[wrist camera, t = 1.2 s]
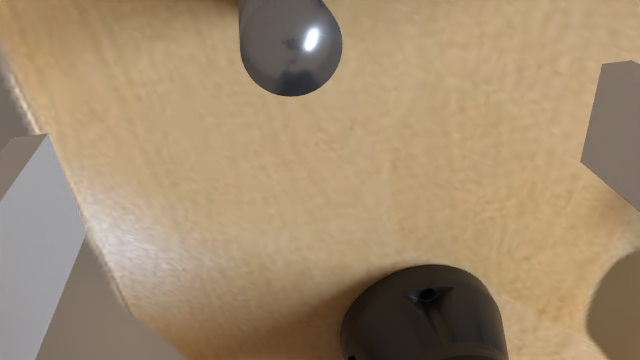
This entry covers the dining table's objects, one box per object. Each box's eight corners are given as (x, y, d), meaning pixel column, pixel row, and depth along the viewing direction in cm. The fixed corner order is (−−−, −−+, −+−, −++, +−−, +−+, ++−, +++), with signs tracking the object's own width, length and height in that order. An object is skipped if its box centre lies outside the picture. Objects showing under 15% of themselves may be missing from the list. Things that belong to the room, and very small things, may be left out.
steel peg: (275, 29, 33) (299, 114, 21) (224, -11, 32) (219, 57, 20) (314, -22, 32) (362, 39, 20) (263, -66, 30) (283, -29, 18)
